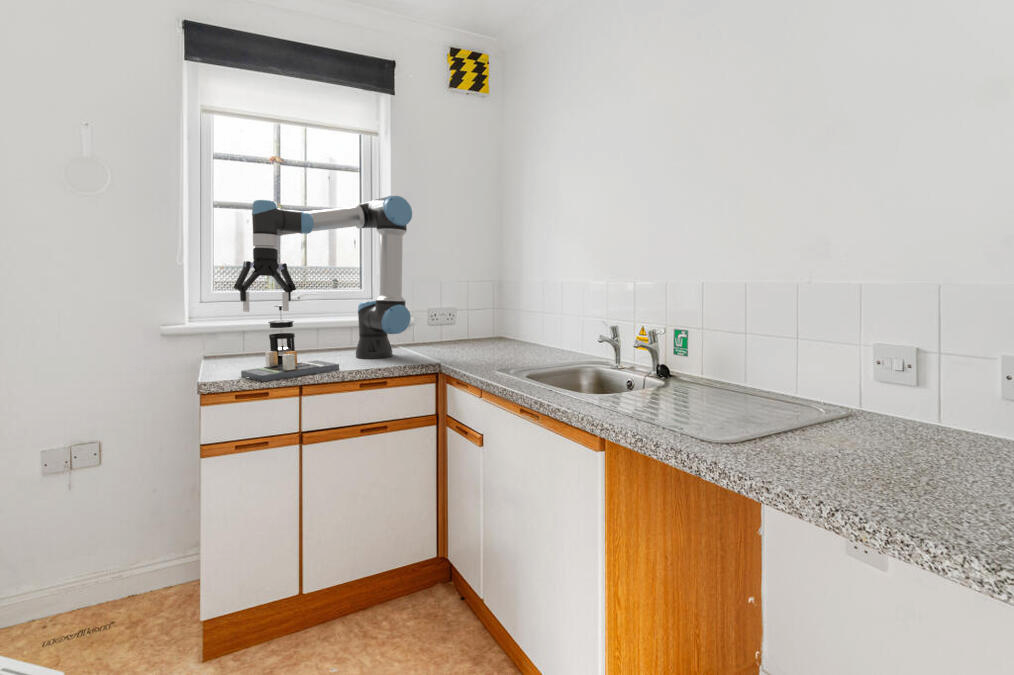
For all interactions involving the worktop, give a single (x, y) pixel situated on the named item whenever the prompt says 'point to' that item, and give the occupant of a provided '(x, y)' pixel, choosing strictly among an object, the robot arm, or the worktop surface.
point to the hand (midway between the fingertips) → (266, 311)
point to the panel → (289, 374)
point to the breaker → (295, 355)
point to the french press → (281, 336)
